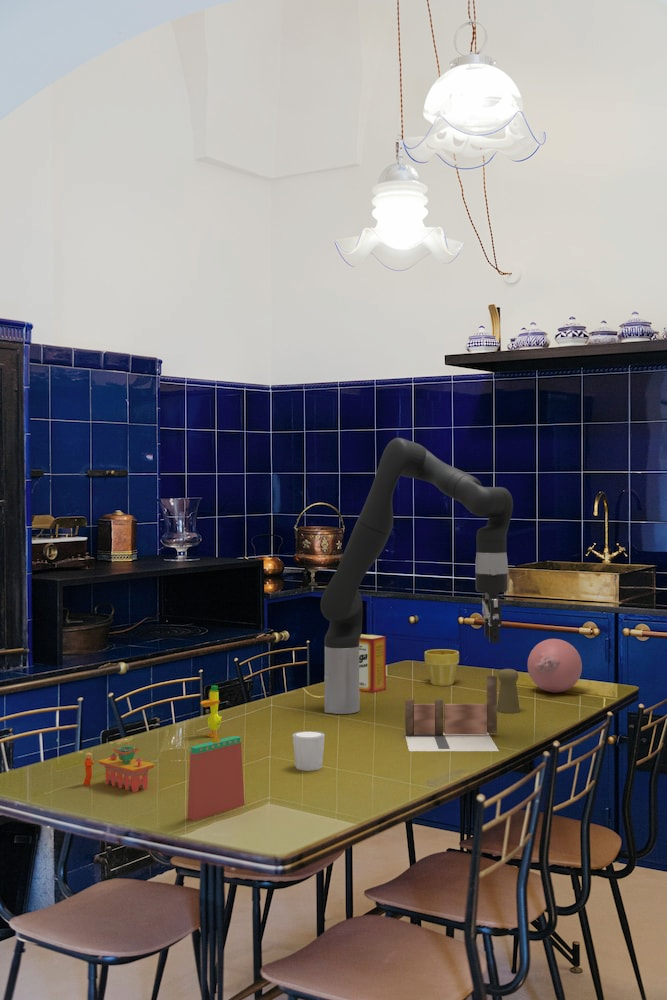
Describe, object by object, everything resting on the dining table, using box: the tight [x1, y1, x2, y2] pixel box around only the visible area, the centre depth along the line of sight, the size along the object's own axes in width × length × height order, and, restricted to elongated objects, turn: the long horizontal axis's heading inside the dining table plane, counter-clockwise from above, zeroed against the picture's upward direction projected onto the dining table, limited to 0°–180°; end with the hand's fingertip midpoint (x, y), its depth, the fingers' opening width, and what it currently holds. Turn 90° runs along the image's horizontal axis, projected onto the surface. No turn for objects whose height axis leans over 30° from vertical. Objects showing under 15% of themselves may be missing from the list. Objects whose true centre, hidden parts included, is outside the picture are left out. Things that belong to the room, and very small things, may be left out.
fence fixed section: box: [404, 698, 444, 737], centre depth 254 cm, size 9×2×8 cm, turn 89°
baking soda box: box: [359, 633, 387, 694], centre depth 314 cm, size 10×6×16 cm
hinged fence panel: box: [443, 675, 498, 734], centre depth 254 cm, size 12×2×14 cm, turn 89°
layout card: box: [404, 732, 500, 752], centre depth 248 cm, size 20×18×1 cm
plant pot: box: [424, 648, 460, 687], centre depth 323 cm, size 10×10×10 cm
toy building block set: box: [83, 734, 246, 822], centre depth 207 cm, size 12×35×14 cm, turn 49°
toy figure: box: [200, 685, 222, 738], centre depth 255 cm, size 7×4×12 cm, turn 141°
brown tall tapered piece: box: [497, 668, 521, 714], centre depth 284 cm, size 6×6×11 cm
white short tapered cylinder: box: [292, 730, 326, 772], centre depth 227 cm, size 7×7×7 cm
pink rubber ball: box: [527, 638, 583, 694], centre depth 307 cm, size 15×20×15 cm
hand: (491, 639), depth 253 cm, fingers open, 8 cm apart
